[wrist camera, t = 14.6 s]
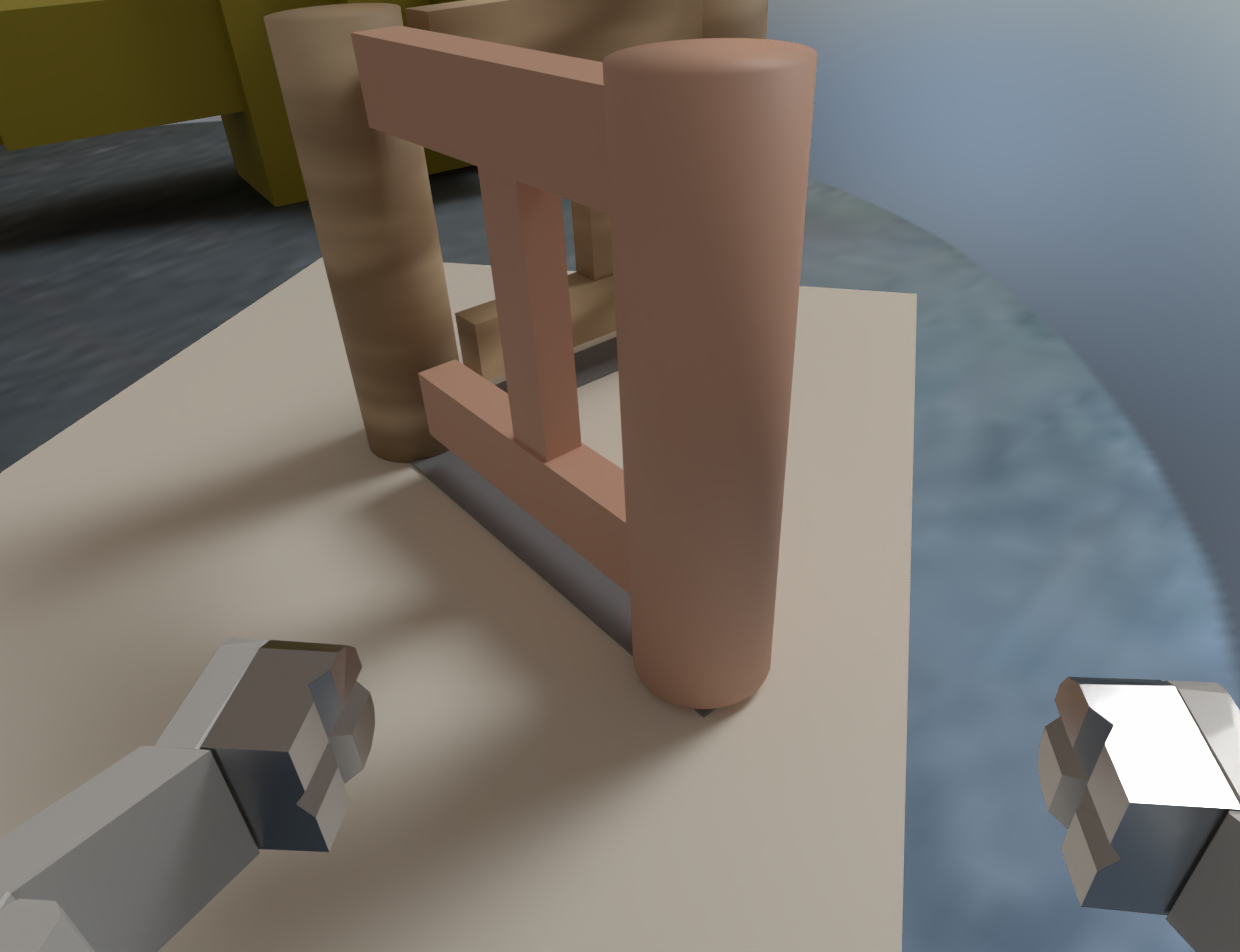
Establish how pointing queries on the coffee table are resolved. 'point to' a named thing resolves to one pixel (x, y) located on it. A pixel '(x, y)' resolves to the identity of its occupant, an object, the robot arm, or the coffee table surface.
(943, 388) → the coffee table surface
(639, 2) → the fence fixed
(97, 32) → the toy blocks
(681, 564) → the fence panel
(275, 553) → the card
